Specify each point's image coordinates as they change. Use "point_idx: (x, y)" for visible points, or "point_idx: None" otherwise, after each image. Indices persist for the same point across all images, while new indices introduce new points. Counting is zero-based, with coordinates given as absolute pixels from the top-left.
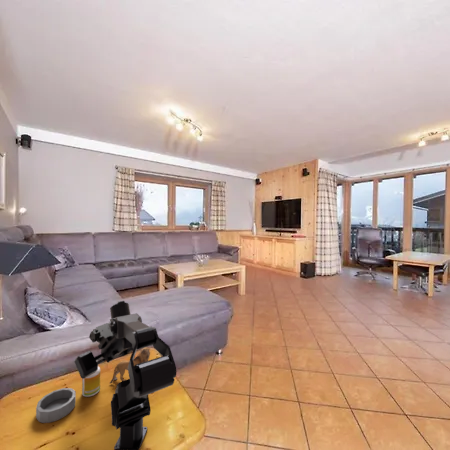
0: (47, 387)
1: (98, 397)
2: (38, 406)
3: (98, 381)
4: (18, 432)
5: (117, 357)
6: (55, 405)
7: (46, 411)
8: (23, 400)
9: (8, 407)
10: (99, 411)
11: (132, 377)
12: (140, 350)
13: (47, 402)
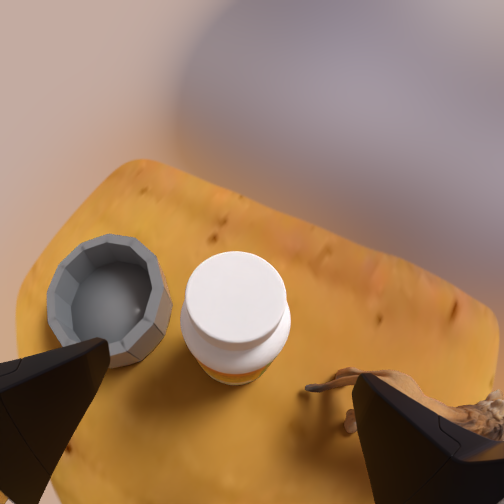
0: (191, 190)
1: (220, 411)
2: (63, 264)
3: (245, 379)
4: (40, 284)
5: (371, 485)
6: (121, 289)
7: (49, 312)
8: (132, 187)
9: (107, 183)
10: (164, 474)
11: None
12: (497, 400)
13: (117, 257)
